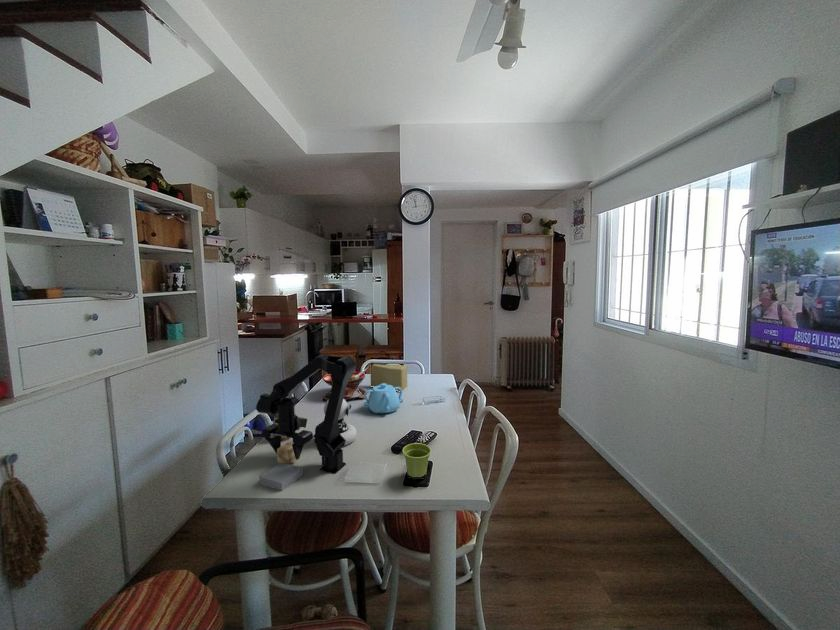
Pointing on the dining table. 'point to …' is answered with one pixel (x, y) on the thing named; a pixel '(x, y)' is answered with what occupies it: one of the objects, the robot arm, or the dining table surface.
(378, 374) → the cheese
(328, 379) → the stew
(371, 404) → the decorative pot
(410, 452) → the plant pot
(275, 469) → the block
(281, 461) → the oak cube
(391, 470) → the dining table surface
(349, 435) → the decorative figurine
